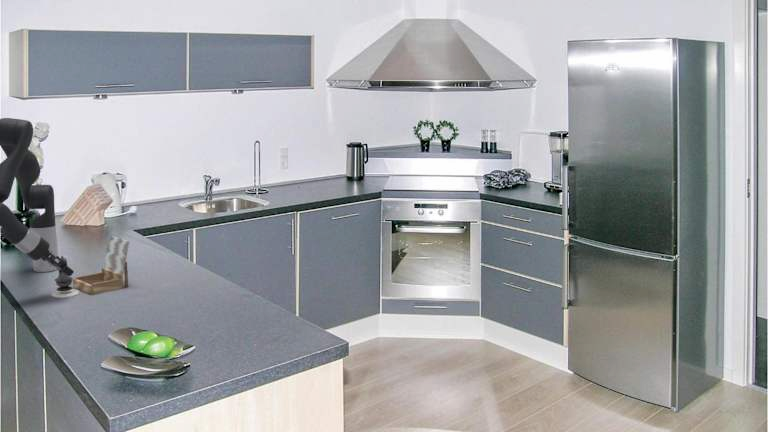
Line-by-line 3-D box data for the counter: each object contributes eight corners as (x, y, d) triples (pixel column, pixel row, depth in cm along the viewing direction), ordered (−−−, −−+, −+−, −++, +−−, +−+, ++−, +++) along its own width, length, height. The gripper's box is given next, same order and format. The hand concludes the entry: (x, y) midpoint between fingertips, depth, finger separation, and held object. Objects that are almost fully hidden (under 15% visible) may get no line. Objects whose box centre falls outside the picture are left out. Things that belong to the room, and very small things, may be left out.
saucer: (47, 294, 286) (47, 292, 286) (72, 289, 292) (72, 287, 292) (58, 299, 280) (58, 297, 280) (83, 294, 286) (83, 292, 286)
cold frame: (73, 287, 295) (69, 241, 292) (113, 279, 306) (110, 235, 303) (91, 294, 285) (87, 247, 282) (132, 286, 296) (129, 240, 293)
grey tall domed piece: (54, 291, 282) (52, 257, 280) (56, 287, 288) (53, 254, 286) (72, 290, 284) (70, 256, 282) (74, 286, 289) (71, 253, 287)
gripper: (47, 238, 272) (85, 267, 283) (30, 232, 282) (67, 260, 292) (32, 256, 269) (71, 285, 280) (15, 249, 279) (53, 277, 290)
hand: (69, 272), depth 286 cm, fingers closed on grey tall domed piece, 3 cm apart
